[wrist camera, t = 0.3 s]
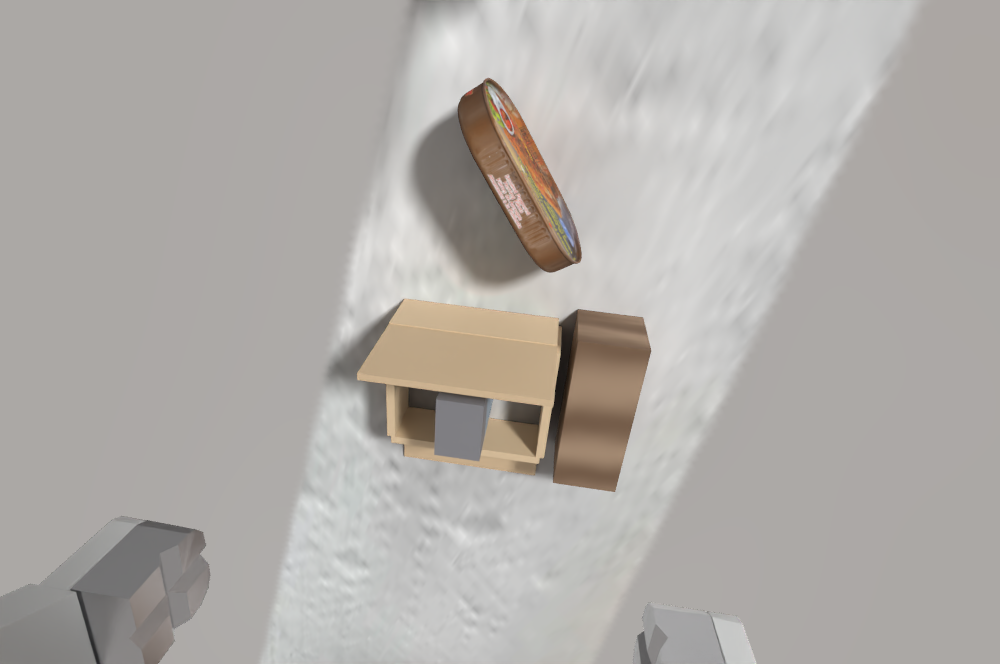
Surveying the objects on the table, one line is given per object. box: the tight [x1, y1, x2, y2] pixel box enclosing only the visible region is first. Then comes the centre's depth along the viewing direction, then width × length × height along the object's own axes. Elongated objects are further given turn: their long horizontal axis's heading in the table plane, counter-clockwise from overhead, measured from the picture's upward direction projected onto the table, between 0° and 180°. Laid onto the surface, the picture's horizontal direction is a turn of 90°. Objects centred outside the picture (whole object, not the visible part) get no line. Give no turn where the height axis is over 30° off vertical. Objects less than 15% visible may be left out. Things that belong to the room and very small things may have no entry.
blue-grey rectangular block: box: [434, 391, 493, 461], centre depth 50 cm, size 6×4×10 cm, turn 175°
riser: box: [553, 309, 651, 492], centre depth 51 cm, size 16×6×6 cm, turn 175°
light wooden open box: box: [357, 299, 562, 475], centre depth 50 cm, size 20×16×13 cm
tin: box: [458, 78, 582, 272], centre depth 41 cm, size 15×3×8 cm, turn 30°
